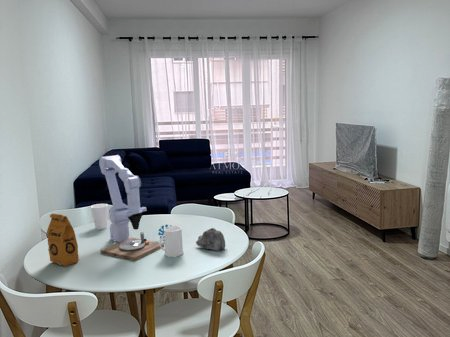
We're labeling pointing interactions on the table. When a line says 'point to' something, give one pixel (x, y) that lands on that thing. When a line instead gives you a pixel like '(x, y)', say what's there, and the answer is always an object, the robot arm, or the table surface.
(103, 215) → the foam cup
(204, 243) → the mineral rock
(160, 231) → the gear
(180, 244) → the mug
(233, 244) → the table surface
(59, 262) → the coffee package
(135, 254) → the base board
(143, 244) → the flange
